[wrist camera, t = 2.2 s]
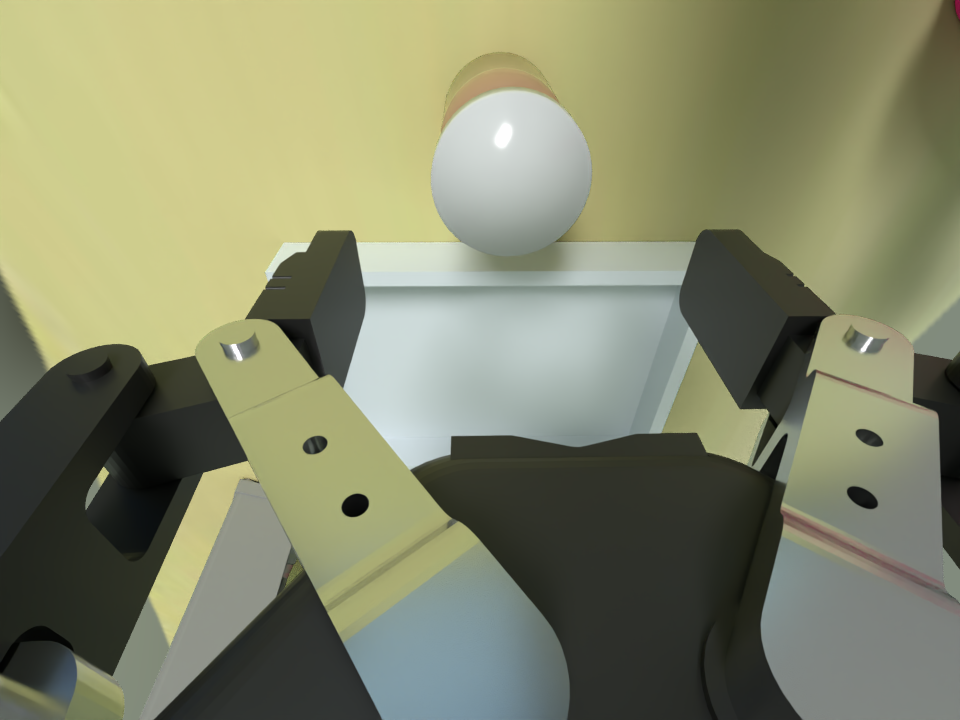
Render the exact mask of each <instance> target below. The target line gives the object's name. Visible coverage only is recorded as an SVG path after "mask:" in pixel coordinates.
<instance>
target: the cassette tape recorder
mask: <svg viewBox="0 0 960 720" xmlns="http://www.w3.org/2000/svg"><path fill="white" fill-rule="evenodd" d="M296 560H297V556H296V554H295V552H294V550H293V548H292V546H291V544H290V542H289V540H288V538H287V536H286V534H285V532H284V530H283V528H282V526H281V524H280V522H279V520H278V518H277V516H276V514H275V512H274V510H273V509H272V507H271V505H270V503H269V501H268V499H267V497H266V495H265V493H264V491H263V489H262V487H261V485H260V483H257V482H254V481H252V480H250V479H240V481H239V483H238V486H237V488H236V490H235V494H234V498H233V502H232V504H231V506H230V508H229V511H228V513H227V515H226V518H225V520H224V522H223V525H222V527H221V529H220V532H219V534H218V536H217V539H216V541H215V543H214V546H213V548H212V550H211V553H210V555H209V557H208V560H207V562H206V564H205V567H204V569H203V571H202V574H201V576H200V578H199V581H198V583H197V585H196V588H195V590H194V592H193V595H192V597H191V599H190V601H189V604H188V606H187V608H186V611H185V613H184V615H183V618H182V620H181V622H180V625H179V627H178V629H177V632H176V634H175V636H174V639H173V641H172V643H171V646H170V648H169V650H168V653H167V655H166V657H165V660H164V662H163V664H162V667H161V669H160V671H159V674H158V676H157V678H156V681H155V683H154V685H153V688H152V690H151V692H150V695H149V697H148V699H147V702H146V704H145V706H144V709H143V711H142V713H141V716H140V718H139V720H154V719H155V718H156V717H157V716H158V715H159V714H160V713H161V712H162V711H163V710H164V709H165V708H166V707H167V706H168V705H169V704H170V703H171V702H172V701H173V700H174V699H175V698H176V697H177V696H178V695H179V694H180V693H181V692H182V691H183V690H184V689H185V688H186V687H187V686H188V685H189V684H190V683H191V682H192V681H193V680H194V679H195V678H196V677H197V676H198V675H199V674H200V673H201V672H202V671H203V670H204V669H205V668H206V667H207V666H208V665H209V664H210V663H211V662H212V661H213V660H214V659H215V658H216V657H217V656H218V655H219V654H220V652H221V651H222V650H223V649H224V648H225V647H226V646H227V645H228V644H229V643H230V642H231V641H232V640H233V639H234V638H235V637H236V636H237V635H238V634H239V633H240V632H241V631H242V630H243V629H244V628H245V627H246V626H247V625H248V624H249V623H250V622H251V621H252V620H253V619H254V618H255V617H256V616H257V615H258V614H259V613H260V612H261V611H262V610H263V609H264V608H265V607H266V606H267V605H268V604H269V603H270V602H271V601H272V600H273V599H274V598H275V597H276V596H277V595H278V594H279V593H280V592H281V591H282V590H283V589H284V588H285V585H286V581H287V578H288V576H289V574H290V571H291V569H292V567H293V565H294V564H295V562H296Z"/></svg>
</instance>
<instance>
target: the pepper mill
mask: <svg viewBox="0 0 960 720" xmlns="http://www.w3.org/2000/svg"><path fill="white" fill-rule="evenodd" d="M955 8H956V13H957V16H958V18H959V20H960V0H955Z"/></svg>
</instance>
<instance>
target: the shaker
mask: <svg viewBox="0 0 960 720" xmlns="http://www.w3.org/2000/svg"><path fill="white" fill-rule="evenodd" d="M591 179H592V162H591V157H590V152H589V148H588V145H587V142H586V140H585V138H584V136H583V134H582V132H581V130H580V129H579V127H578V126H577V124H576V122H575V121H574V119H573V118H572V116H571V115H570V114H569V113H568V111H567V110H566V109H565V108H564V107H563V106H562V105H561V104H560V103H559V101H558V99H557V98H556V96H555V94H554V93H553V91H552V89H551V88H550V86H549V84H548V83H547V81H546V79H545V78H544V76H543V75H542V73H541V72H540V71H539V70H538V69H537V68H536V66H534V65H533V64H532V63H531V62H530V61H528V60H526V59H525V58H523V57H521V56H518V55H516V54H511V53H505V52H496V53H490V54H485V55H483V56H480V57H478V58H476V59H474V60H473V61H471V62H470V63H468V64H467V65H466V66H465V67H464V68H463V69H462V70H461V71H460V72H459V73H458V75H457V76H456V77H455V79H454V81H453V82H452V84H451V86H450V89H449V91H448V94H447V98H446V102H445V108H444V115H443V121H442V127H441V134H440V137H439V139H438V141H437V145H436V148H435V152H434V158H433V164H432V171H431V188H432V195H433V199H434V203H435V206H436V209H437V211H438V213H439V215H440V217H441V219H442V221H443V222H444V224H445V225H446V226H447V228H448V229H449V230H450V231H451V232H452V233H453V234H454V235H455V237H457V238H458V239H459V240H460V241H462V242H463V243H464V244H466V245H468V246H469V247H471V248H473V249H475V250H477V251H480V252H483V253H486V254H490V255H495V256H506V257H509V256H520V255H525V254H529V253H532V252H536V251H538V250H540V249H543V248H545V247H547V246H548V245H550V244H552V243H553V242H555V241H556V240H557V239H559V238H560V237H561V236H562V235H563V234H565V233H566V232H567V231H568V230H569V229H570V227H571V226H572V225H573V224H574V223H575V221H576V220H577V218H578V217H579V215H580V214H581V212H582V210H583V208H584V206H585V203H586V201H587V198H588V195H589V191H590V187H591Z"/></svg>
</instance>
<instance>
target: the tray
mask: <svg viewBox="0 0 960 720" xmlns="http://www.w3.org/2000/svg"><path fill="white" fill-rule="evenodd" d="M695 243H696V242H553V243H552V244H550V245H548V246H547V247H545V248H543V249H540V250H538V251H536V252H532V253H529V254H525V255H520V256H509V257H506V256H495V255H490V254H486V253H483V252H480V251H477V250H475V249H473V248H471V247H469V246H468V245H466V244H464V243H463V242H356V244H357V249H358V255H359V260H360V266H361V272H362V277H363V283H364V288H365V297H366V309H365V316H364V320H363V323H362V326H361V330H360V333H359V337H358V340H357V343H356V347H355V350H354V354H353V357H352V361H351V364H350V367H349V371H348V374H347V378H346V381H345V384H344V388H343V389H344V391H345V392H346V393H347V394H348V395H349V397H350V398H351V399H352V400H353V402H354V403H355V404H356V405H357V406H358V408H359V409H360V410H361V411H362V413H363V414H364V415H365V416H366V417H367V419H368V420H369V421H370V422H371V424H372V425H373V426H374V427H375V428H376V430H377V431H378V432H379V433H380V435H381V436H382V437H383V438H384V439H385V441H386V442H387V443H388V444H389V445H390V447H391V448H392V449H393V450H394V452H395V453H396V454H397V455H398V456H399V458H400V459H401V460H402V461H403V463H404V464H405V465H406V466H407V467H408V469H409V470H411V469H412V468H414V467H416V466H418V465H421V464H423V463H425V462H427V461H430V460H433V459H436V458H439V457H442V456H446V455H450V454H451V436H492V435H513V436H519V437H524V438H529V439H534V440H540V441H545V442H550V443H555V444H561V445H566V446H572V447H582V446H587V445H591V444H595V443H600V442H604V441H608V440H612V439H617V438H621V437H625V436H629V435H633V434H650V433H661V432H662V430H663V427H664V425H665V422H666V420H667V417H668V415H669V412H670V410H671V407H672V405H673V402H674V400H675V397H676V395H677V393H678V390H679V388H680V385H681V383H682V380H683V378H684V375H685V373H686V370H687V368H688V365H689V363H690V360H691V358H692V355H693V353H694V350H695V348H696V345H697V343H698V340H697V338H696V337H695V335H694V333H693V332H692V330H691V329H690V327H689V325H688V324H687V322H686V320H685V319H684V317H683V316H682V314H681V311H680V306H679V294H680V289H681V286H682V283H683V280H684V277H685V274H686V271H687V268H688V264H689V261H690V258H691V255H692V252H693V249H694V246H695ZM309 245H310V243H283V245H282V247H281V248H280V250H279V251H278V253H277V254H276V256H275V258H274V259H273V261H272V262H271V264H270V265H269V267H268V269H267V270H266V272H265V273H266V276H267V279H268V282H269V280H270V279H272V275H273V274H274V272H275V271H276V269H277V267H278V266H279V264H280V263H281V262H283V261H284V260H286V259H287V258H289V257H290V256H291V255H293V254H294V253H296V252H306V251H307V249H308V247H309Z"/></svg>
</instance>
